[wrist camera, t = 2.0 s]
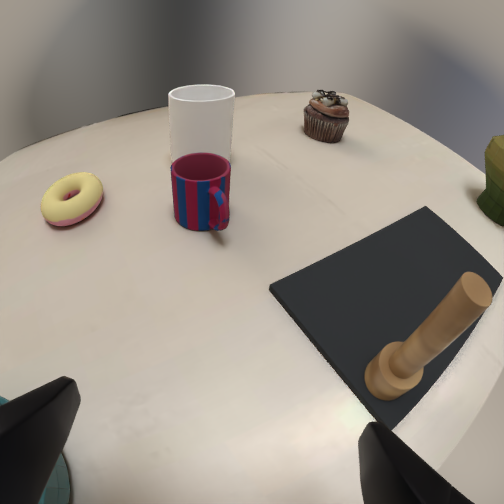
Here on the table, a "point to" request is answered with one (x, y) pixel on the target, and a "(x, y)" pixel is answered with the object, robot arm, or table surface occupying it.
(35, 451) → the robot arm
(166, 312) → the table surface
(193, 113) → the mug
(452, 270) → the mat
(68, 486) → the bowl
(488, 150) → the vase
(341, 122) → the cupcake
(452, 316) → the stick
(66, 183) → the donut
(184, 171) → the cup
